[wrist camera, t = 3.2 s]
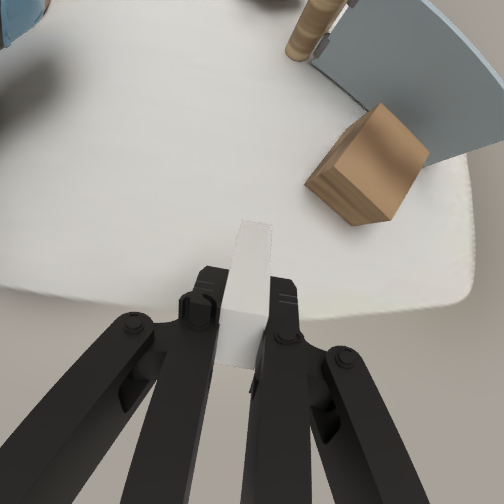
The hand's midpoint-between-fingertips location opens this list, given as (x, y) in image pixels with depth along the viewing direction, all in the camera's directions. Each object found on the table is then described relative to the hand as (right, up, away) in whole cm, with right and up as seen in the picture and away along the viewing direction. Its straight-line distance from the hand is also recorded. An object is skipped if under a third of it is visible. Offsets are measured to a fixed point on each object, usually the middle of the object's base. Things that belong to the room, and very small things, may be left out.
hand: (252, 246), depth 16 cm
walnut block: (+11, +8, +18) cm, 23 cm away
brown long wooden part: (+7, +26, +17) cm, 32 cm away
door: (+15, +18, +18) cm, 30 cm away
